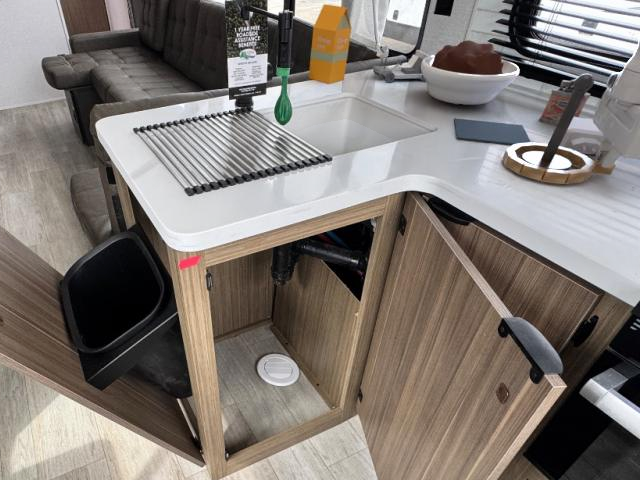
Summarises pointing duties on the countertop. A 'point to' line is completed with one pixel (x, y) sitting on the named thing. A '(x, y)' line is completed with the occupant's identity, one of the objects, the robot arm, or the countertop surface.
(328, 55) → the orange juice
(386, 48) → the toy car
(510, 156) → the ring
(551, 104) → the lighter
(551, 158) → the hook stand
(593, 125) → the charger
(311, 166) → the countertop surface
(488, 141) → the mat
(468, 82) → the white bowl of dough
